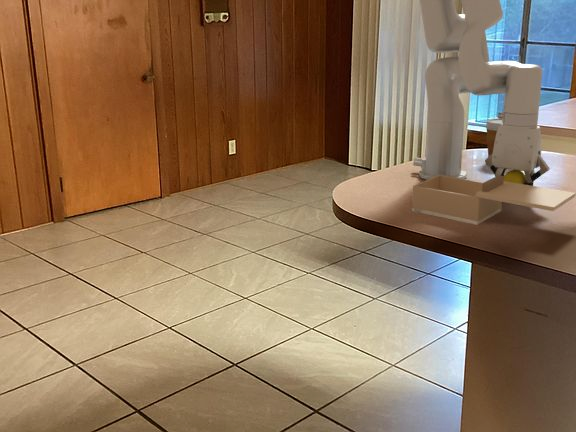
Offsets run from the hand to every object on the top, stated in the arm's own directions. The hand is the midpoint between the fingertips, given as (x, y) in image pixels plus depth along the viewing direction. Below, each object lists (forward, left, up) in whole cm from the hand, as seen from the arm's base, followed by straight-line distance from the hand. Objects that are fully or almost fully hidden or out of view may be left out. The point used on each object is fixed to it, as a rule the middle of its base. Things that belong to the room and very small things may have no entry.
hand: (513, 194), depth 156 cm
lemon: (0, 0, -2) cm, 2 cm away
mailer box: (-7, -15, -1) cm, 17 cm away
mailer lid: (+8, -15, +5) cm, 18 cm away
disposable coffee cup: (-19, +35, -2) cm, 40 cm away
